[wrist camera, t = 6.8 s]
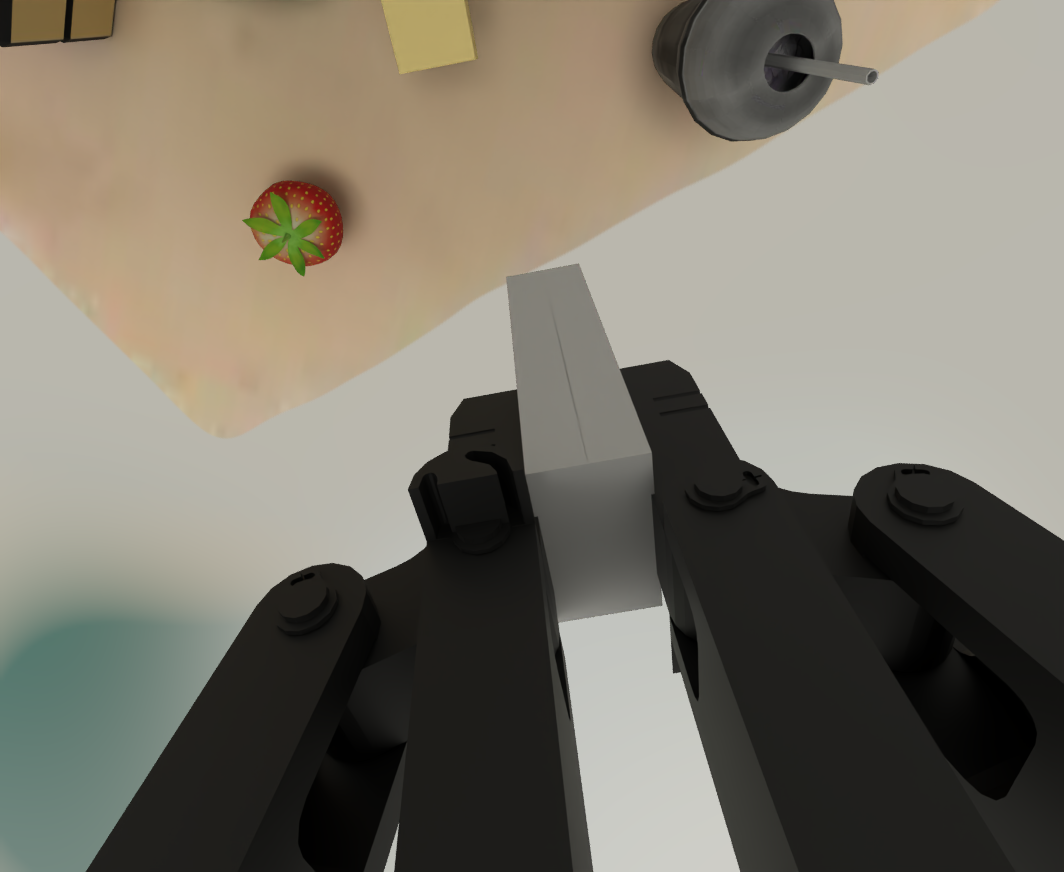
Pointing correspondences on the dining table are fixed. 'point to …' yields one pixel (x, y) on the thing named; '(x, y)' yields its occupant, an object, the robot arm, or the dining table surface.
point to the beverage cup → (752, 62)
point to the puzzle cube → (54, 21)
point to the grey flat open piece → (429, 33)
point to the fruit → (296, 224)
